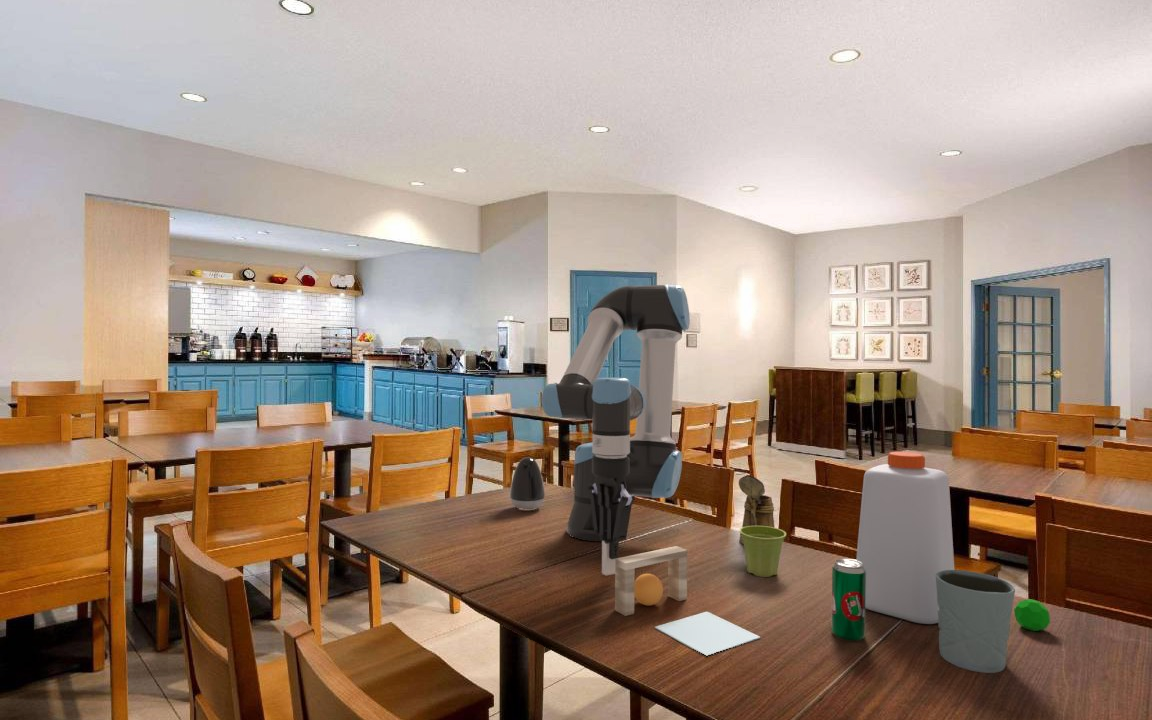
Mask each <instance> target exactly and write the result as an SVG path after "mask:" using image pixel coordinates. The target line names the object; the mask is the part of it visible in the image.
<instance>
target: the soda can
mask: <svg viewBox="0 0 1152 720" xmlns="http://www.w3.org/2000/svg"><path fill="white" fill-rule="evenodd" d="M863 566H864V565H863V563H861V562H859V561H856V559H852V558H837V559H835V560H834V564H833V565H832V566H831V568H832V569H831V570H832V572H831V623H830V626H831V628H830V629H831V632H832V633H833V635H834V636H835V637H836V638H838V639H841V640H843V641H849V642H859V641H862V639H864V638H865V637H866V608H865V601H866V571H865V569H864V567H863Z"/></svg>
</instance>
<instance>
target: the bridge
mask: <svg viewBox="0 0 1152 720" xmlns="http://www.w3.org/2000/svg"><path fill="white" fill-rule="evenodd" d="M664 562H668V563H667V564H668V565H667V569H668V570H667V571H668V572H667V573H668V574H667V597H669V598H671V599H674V600H676V601H678V602H681V601H685V600H687V598H688V549H685V548H683V547H681V546H678V545H674V546H670V547H665V548H660V549H655V550H652V551H647V552H641V553H635V554H631V555H627V556H622V557H618V558H616V559H615V574H614V579H615V580H614V611H616V612H617V613H619V614H621V615H623V616H625V617H627V616H630V615H634V614H635V596H634V585H635V580H636V578H635V573H636V571H635V569H637V568H642V567H646V566H650V565H654V564H655V565H656V564H659V563H660V564H661V563H664Z"/></svg>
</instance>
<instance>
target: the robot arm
mask: <svg viewBox="0 0 1152 720" xmlns="http://www.w3.org/2000/svg"><path fill="white" fill-rule="evenodd" d="M586 320H587V321H586V322H587V323H586V324H587V328H586V330H585V331H584V333H583V336H582V337H581V339H580V341H579V343H578V345H577V347H576V349H575V351H574V353H573V355H572V358H571V359H570V362H569V363H568V366H567V368H566V370H565V372H564V374H563V375H562V377H561V379H560V381H559V383H557V382H554V383H548V384H546V385H545V386H544V388H543V389H542V394H541V407H542V409H543V413H544V414H545V416H548V417H551V418H559V419H578V420H582V419H583V420H592V421H591V423H592V430H591V431H592V432H591V433H592V442H587V443H583V444H580V445H578V446H577V447H576V448H575V451H574V462H573V466H574V469H573V471H574V473H573V475H574V477H573V479H574V480H573V481H574V482H573V483H574V484H573V486H574V487H573V495H574V496H573V497H574V500H573V505H572V509H571V512H570V514H569V517H568V521H567V524H566V534H567V533H568V534H569V535H571V536H573V537H575V538H574V539H576V538H578V539H577V540H580V539H582V540H581V541H586V540H587V542H589V541H590V542H601V545H600V553H601V574H602V575H604V576H605V577H606V576H611V575H615V559H616V558H619V545H620V544H619V543H620V542H623V541H626V540H627V534H628V530H629V524H630V519H631V511H632V506H633V504H634V502H635V499H636V497H646V498H652V499H657V498H660V499H661V498H662V499H663V498H664V499H667V498H671V497H672V496H674V495H675V493H676V491H677V488H678V485H679V482H680V478H681V474H682V468H683V462H682V461H683V455H682V454H683V453H682V452H681V451H680V450H678V449H677V447H676V446H677V444H676V442H675V440H673V438H672V437H671V430H672V429H671V428H672V412H673V411H672V410H673V395H674V391H673V390H674V379H675V378H674V375H675V360H676V344H677V342H679V341H680V340H681V339H682V338H683V331H686V330H689V328H690V323H691V322H690V308H689V302H688V298H687V293H686V291H685V289H684V287H682V286H681V285H679V284H666V283H664V284H655V285H653V284H652V285H651V284H650V285H625V286H624V285H623V286H620V287H618V288H616V289H614V290H612V291H610V292H608V293H607V294H606V295H604V296H603V297H601V298H600V300H599V301H597V303H596V304H595V305H594V306H593V307H592V309H591V311H590V312H589V314H588V316H587V319H586ZM630 330H631V331H636V336H637V338H638V339H639V340H640V341H641V352H640V353H641V354H640V365H639V366H640V368H639V379H638V380H639V381H638V382H639V383H638V386H636V385H633V384H631V382H630V380H629V379H628V378H626V377H599V376H600V373H601V371H602V370H603V368H604V367H603V366H604V364H605V362H606V359H607V358H608V355H609V352H610V350H611V348H612V346H613V344H614V342H615V339H616V338H618V337H620V336H621V335H622V333H623V332H624V331H630ZM635 419H636V424H635V425H636V427H635V434H634V435H633V436H632V437H631V434H630V433H631V421H632V420H635ZM635 496H636V497H635ZM568 534H567V535H568ZM569 535H568V536H569ZM571 536H570V537H571ZM573 537H572V538H573Z"/></svg>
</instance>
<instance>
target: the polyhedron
mask: <svg viewBox="0 0 1152 720" xmlns="http://www.w3.org/2000/svg"><path fill="white" fill-rule="evenodd" d="M1013 610H1014V617H1015V620H1016V622H1017V623H1018V624H1019V625H1020V626H1021V627H1023V628H1024V629H1025V630H1028V631H1032V632H1036V631H1037V632H1038V631H1041V630H1045V629H1047V628H1048V626H1049V624H1050V623H1051V618H1050V611H1049V609H1048V608H1047V606H1045V605H1044V604H1043V603H1041V602H1040V601H1038V600H1036V599H1031V598H1027V599H1023V600H1020V601H1018V602H1017V604H1016V605H1015V607H1014V609H1013Z"/></svg>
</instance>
